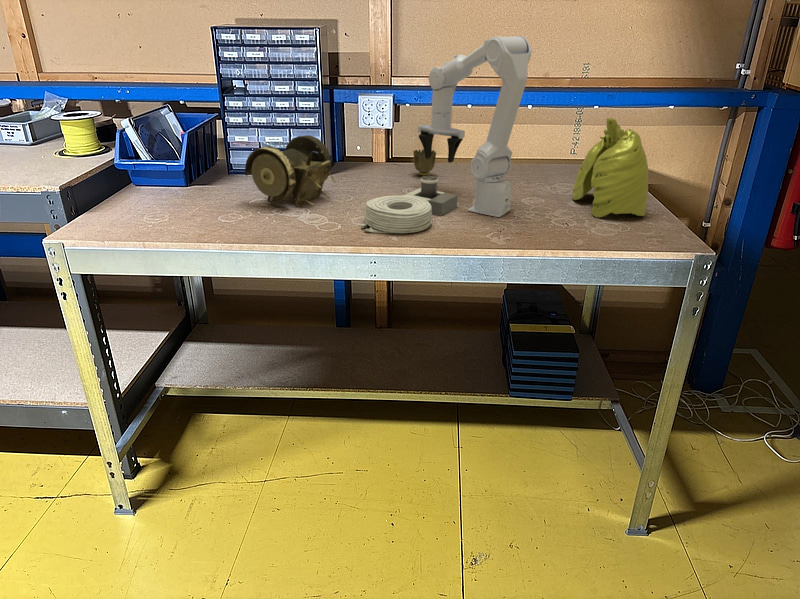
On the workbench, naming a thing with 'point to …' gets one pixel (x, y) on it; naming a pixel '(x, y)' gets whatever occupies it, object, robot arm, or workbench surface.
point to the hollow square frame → (438, 201)
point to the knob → (429, 187)
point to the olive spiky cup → (424, 162)
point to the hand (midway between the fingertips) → (439, 159)
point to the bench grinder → (291, 170)
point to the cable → (397, 214)
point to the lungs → (615, 173)
